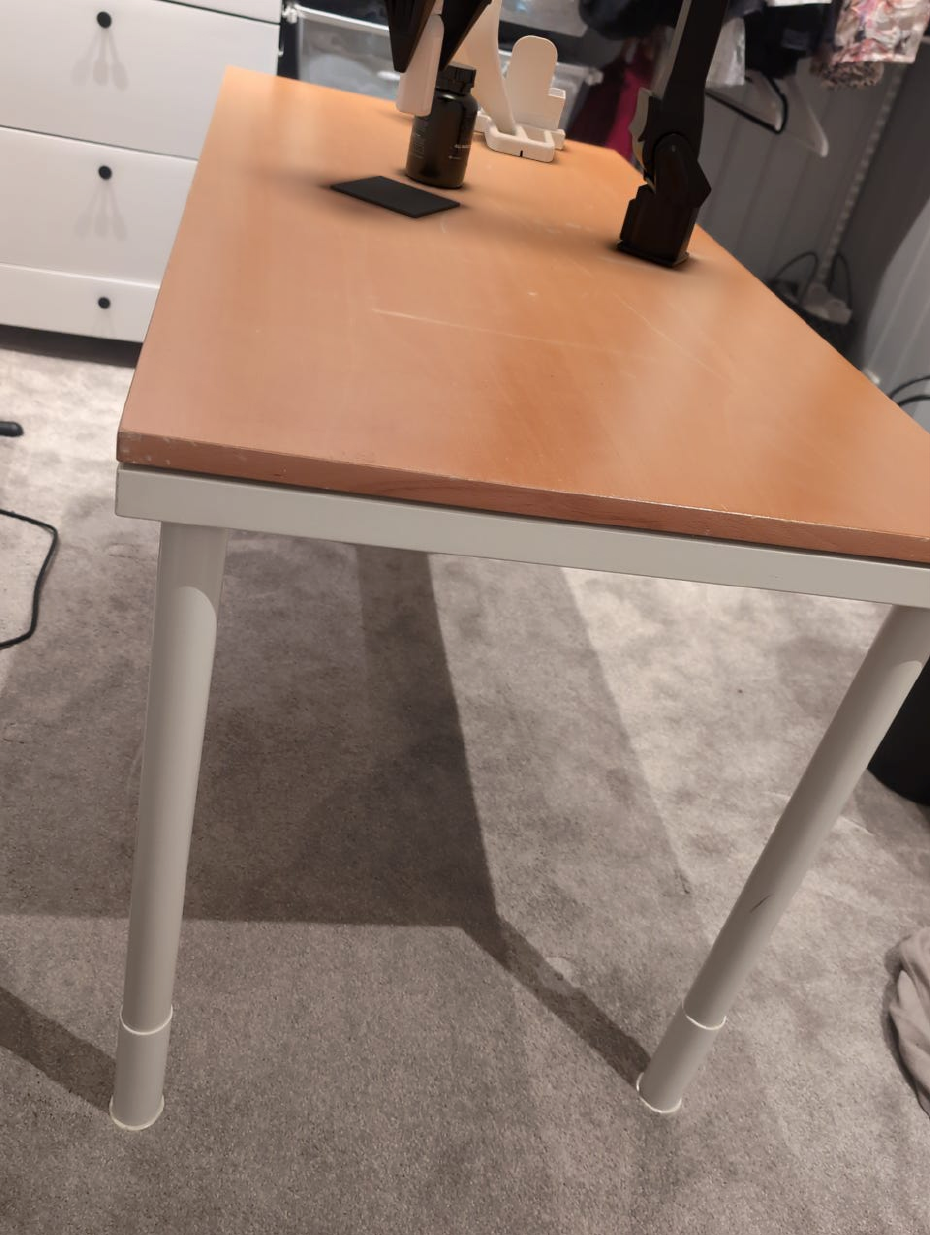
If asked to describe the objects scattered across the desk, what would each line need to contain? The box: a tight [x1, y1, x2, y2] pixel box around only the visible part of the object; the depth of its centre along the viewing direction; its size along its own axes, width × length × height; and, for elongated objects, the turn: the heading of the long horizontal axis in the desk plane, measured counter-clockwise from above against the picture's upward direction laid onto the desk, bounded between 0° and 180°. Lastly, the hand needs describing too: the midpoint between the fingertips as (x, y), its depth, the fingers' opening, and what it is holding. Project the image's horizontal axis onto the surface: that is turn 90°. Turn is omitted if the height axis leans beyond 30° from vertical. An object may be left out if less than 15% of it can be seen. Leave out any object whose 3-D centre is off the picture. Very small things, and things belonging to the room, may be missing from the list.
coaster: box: [329, 175, 461, 219], centre depth 107 cm, size 10×10×1 cm
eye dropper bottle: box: [395, 0, 444, 116], centre depth 98 cm, size 4×6×12 cm
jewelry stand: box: [451, 0, 567, 163], centre depth 137 cm, size 25×16×25 cm, turn 91°
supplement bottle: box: [404, 61, 479, 189], centre depth 113 cm, size 7×7×12 cm
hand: (419, 71), depth 99 cm, fingers closed on eye dropper bottle, 8 cm apart
